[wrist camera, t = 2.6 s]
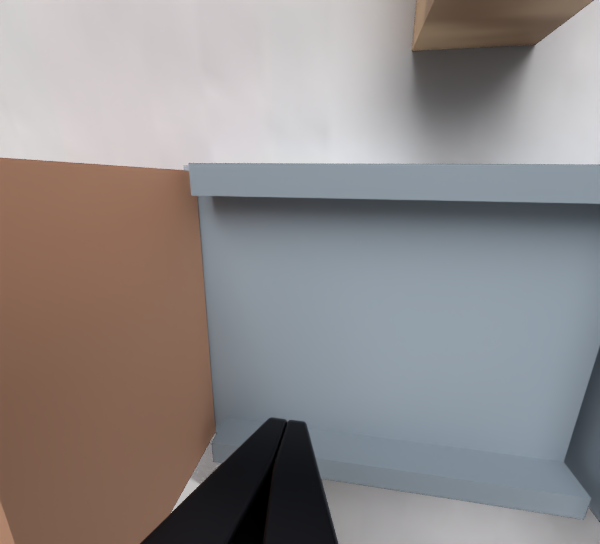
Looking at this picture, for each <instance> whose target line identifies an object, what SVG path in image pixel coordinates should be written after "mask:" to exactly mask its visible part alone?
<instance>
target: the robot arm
mask: <svg viewBox="0 0 600 544" xmlns="http://www.w3.org/2000/svg"><path fill="white" fill-rule="evenodd" d="M140 544H338V541H337V537H336V533H335V529H334V526H333V522H332V518H331V514H330V510H329V507H328V503H327V499H326V495H325V491H324V488H323V484H322V480H321V476H320V472H319V469H318V465H317V461H316V457H315V453H314V450H313V446H312V442H311V438H310V434H309V431H308V427H307V424H306V422H305V421H299V420H289V421H288V422H287V420H286V419H283V418H275V417H270V418H268V419H267V420H266V421H265V422H264V423H263V424H262V425H261V426H260V427H259V428H258V429H257V430H256V431H255V432H254V433H253V434H252V435H251V436H250V437H249V438H248V439H247V440H246V441H245V442H244V443H243V444H242V445H241V446H239V447H238V448H237V449H236V450H235V451H234V452H233V453H232V454H231V455H230V456H229V457H228V458H227V459H226V460H225V461H224V462H223V463H222V464H221V465H220V466H219V467H218V468H217V469H216V470H215V471H214V472H213V473H212V474H211V475H210V476H209V477H208V478H207V479H206V480H205V481H204V482H202V483H201V484H200V485H199V486H198V487H197V488H196V489H195V490H194V491H193V492H192V493H191V494H190V495H189V496H188V497H187V498H186V499H185V500H184V501H183V502H182V503H181V504H180V505H179V506H178V507H177V508H176V509H175V510H174V511H173V512H172V513H171V514H170V515H169V516H168V517H167V518H166V519H164V520H163V521H162V522H161V523H160V524H159V525H158V526H157V527H156V528H155V529H154V530H153V531H152V532H151V533H150V534H149V535H148V536H147V537H146V538H145V539H144V540H143V541H142V542H141V543H140Z"/></svg>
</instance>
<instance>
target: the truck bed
mask: <svg viewBox="0 0 600 544" xmlns="http://www.w3.org/2000/svg"><path fill="white" fill-rule="evenodd" d="M184 170H186V171H189V175H190V187H191V196H197V199H198V212H199V224H200V237H201V250H202V263H203V276H204V289H205V302H206V315H207V327H208V340H209V353H210V366H211V379H212V392H213V405H214V418H215V431H216V432H215V433H217V434H216V436H215V438H214V439H213V441H212V452H213V462H218V463H223V462H224V461H225V460H226V459H227V458H228V457H229V456H230V455H231V454H232V453H233V452H234V451H235V450H236V449H237V448H238V447H239V446H241V445H242V444H243V443H244V442H245V441H246V440H247V439H248V438H249V437H250V436H251V435H252V434H253V433H254V432H255V431H256V430H257V429H258V428H259V427H260V426H261V425H262V424H263V423H264V422H265V421H266V420H267V419H268V418H270V417H275V418H283V419H286V420H287V422H288V421H289V420H299V421H305V422H306V424H307V427H308V431H309V434H310V438H311V442H312V446H313V450H314V453H315V457H316V461H317V465H318V469H319V472H320V476H321V479H327V480H333V481H339V482H346V483H352V484H359V485H365V486H371V487H378V488H384V489H391V490H397V491H403V492H410V493H416V494H423V495H429V496H435V497H442V498H448V499H455V500H461V501H467V502H474V503H480V504H487V505H493V506H499V507H506V508H512V509H519V510H525V511H532V512H538V513H544V514H551V515H557V516H564V517H570V518H576V519H583V520H584V517H585V515H586V512H587V509H588V507H589V508H590V510H591V511H592V512H593V514H594V515H595V517H596V518H597V519H598V521H599V522H600V165H570V164H272V163H189V165H184Z"/></svg>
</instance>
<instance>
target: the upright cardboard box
mask: <svg viewBox="0 0 600 544" xmlns="http://www.w3.org/2000/svg"><path fill="white" fill-rule="evenodd" d="M592 1H594V0H417V1H416V12H415V23H414V33H413V44H412V51H420V50H439V49H459V48H479V47H499V46H518V45H536V44H537V43H538V42H540V41H541V40H542V39H544V38H545V37H546V36H547V35H549V34H550V33H551V32H553V31H554V30H555V29H557V28H558V27H559V26H561V25H562V24H563V23H565V22H566V21H567V20H569V19H570V18H571V17H573V16H574V15H575V14H577V13H578V12H579V11H580V10H582V9H583V8H584V7H586V6H587V5H588V4H590V3H591V2H592Z"/></svg>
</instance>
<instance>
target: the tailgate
mask: <svg viewBox="0 0 600 544" xmlns="http://www.w3.org/2000/svg"><path fill="white" fill-rule="evenodd" d="M215 432H216V431H215V418H214V405H213V392H212V379H211V366H210V353H209V340H208V327H207V315H206V302H205V289H204V276H203V263H202V250H201V237H200V224H199V212H198V199H197V196H191V187H190V175H189V171H186V170H171V169H157V168H142V167H128V166H113V165H99V164H84V163H69V162H55V161H40V160H26V159H11V158H0V544H140V543H141V542H142V541H143V540H144V539H145V538H146V537H147V536H148V535H149V534H150V533H151V532H152V531H153V530H154V529H155V528H156V527H157V526H158V525H159V524H160V523H161V522H162V521H163V520H164V519H166V518H167V517H168V516H169V515H170V513H171V511H172V510H173V507H174V506H175V504H176V502H177V500H178V499H179V497H180V495H181V493H182V492H183V490H184V488H185V486H186V484H187V482H188V481H189V479H190V477H191V475H192V473H193V472H194V470H195V468H196V466H197V464H198V462H199V461H200V459H201V457H202V455H203V453H204V452H205V450H206V448H207V446H208V444H209V443H210V441H211V439H212V437H213V435H214V433H215Z"/></svg>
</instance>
